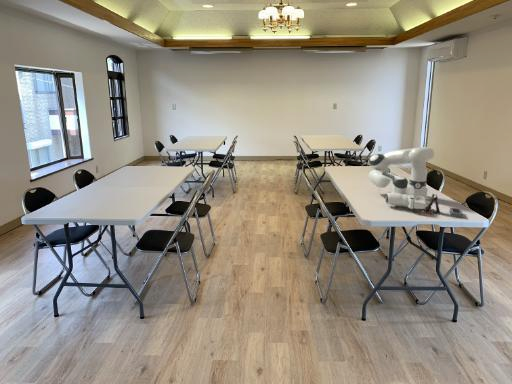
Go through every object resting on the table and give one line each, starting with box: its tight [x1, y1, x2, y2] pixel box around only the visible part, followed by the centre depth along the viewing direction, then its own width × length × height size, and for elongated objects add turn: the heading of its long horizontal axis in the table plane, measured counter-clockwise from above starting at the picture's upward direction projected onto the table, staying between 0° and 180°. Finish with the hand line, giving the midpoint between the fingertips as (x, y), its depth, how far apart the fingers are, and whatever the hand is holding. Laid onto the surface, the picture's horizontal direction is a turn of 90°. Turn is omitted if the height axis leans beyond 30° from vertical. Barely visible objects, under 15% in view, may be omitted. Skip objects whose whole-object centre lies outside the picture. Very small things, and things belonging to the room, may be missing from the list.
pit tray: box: [448, 207, 464, 219], centre depth 253 cm, size 12×6×3 cm, turn 160°
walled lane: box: [420, 205, 434, 216], centre depth 259 cm, size 16×7×2 cm, turn 160°
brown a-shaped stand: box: [424, 193, 441, 215], centre depth 257 cm, size 9×6×12 cm, turn 70°
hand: (432, 203), depth 256 cm, fingers closed, pressing on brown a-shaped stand
